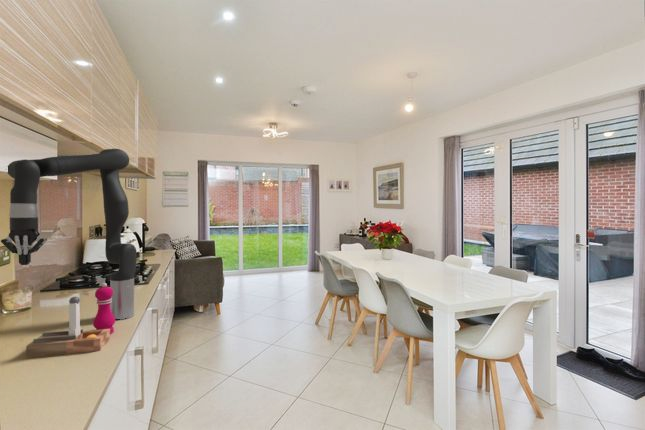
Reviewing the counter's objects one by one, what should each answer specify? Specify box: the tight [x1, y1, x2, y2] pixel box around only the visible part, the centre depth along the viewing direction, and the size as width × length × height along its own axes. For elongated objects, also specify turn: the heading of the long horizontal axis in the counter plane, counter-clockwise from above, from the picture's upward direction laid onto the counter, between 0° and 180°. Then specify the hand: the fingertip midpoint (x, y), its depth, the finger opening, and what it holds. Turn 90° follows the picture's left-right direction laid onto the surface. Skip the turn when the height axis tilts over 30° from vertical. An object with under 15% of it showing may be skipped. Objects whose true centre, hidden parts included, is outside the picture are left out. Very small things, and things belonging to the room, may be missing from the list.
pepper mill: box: [92, 282, 116, 335], centre depth 127 cm, size 7×7×20 cm
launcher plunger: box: [68, 296, 82, 337], centre depth 114 cm, size 4×3×14 cm
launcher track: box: [25, 328, 111, 359], centre depth 114 cm, size 10×21×5 cm, turn 107°
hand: (24, 264), depth 115 cm, fingers closed
